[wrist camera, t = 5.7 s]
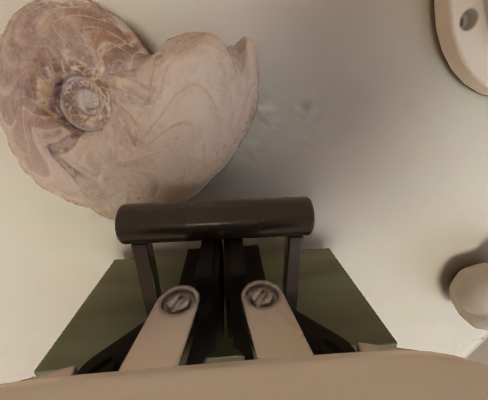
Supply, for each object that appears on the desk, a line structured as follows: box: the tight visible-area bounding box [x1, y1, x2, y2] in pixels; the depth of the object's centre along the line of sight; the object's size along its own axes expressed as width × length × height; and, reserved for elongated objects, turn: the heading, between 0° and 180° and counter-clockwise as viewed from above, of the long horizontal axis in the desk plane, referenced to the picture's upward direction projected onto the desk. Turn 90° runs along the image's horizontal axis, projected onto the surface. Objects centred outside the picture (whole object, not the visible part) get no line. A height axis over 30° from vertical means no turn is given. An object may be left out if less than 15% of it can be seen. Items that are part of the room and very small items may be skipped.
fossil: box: [0, 0, 259, 219], centre depth 11 cm, size 12×4×10 cm
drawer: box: [34, 197, 397, 376], centre depth 14 cm, size 22×14×7 cm, turn 1°
